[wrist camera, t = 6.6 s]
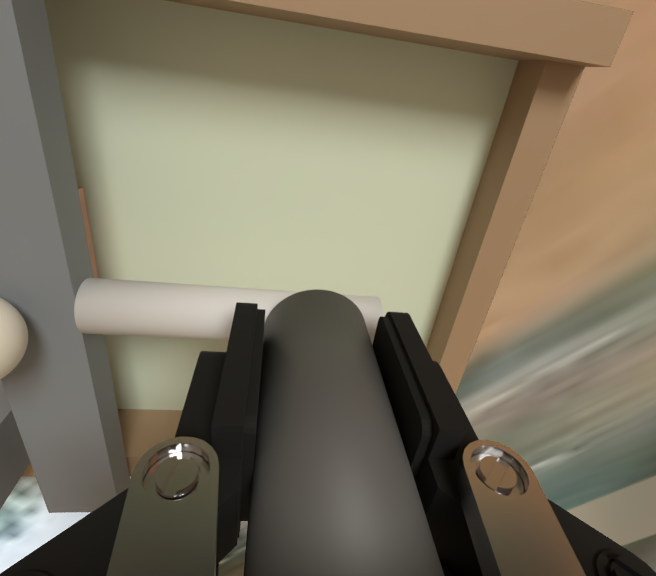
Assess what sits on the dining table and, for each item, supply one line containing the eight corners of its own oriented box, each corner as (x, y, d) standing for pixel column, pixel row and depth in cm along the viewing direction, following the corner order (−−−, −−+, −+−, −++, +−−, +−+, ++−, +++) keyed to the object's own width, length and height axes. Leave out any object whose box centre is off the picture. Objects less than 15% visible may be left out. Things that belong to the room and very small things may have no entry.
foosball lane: (550, 24, 13) (735, -5, 7) (415, 416, 21) (457, 529, 16) (-277, -132, 9) (-980, -378, 4) (-37, 407, 18) (-168, 545, 13)
